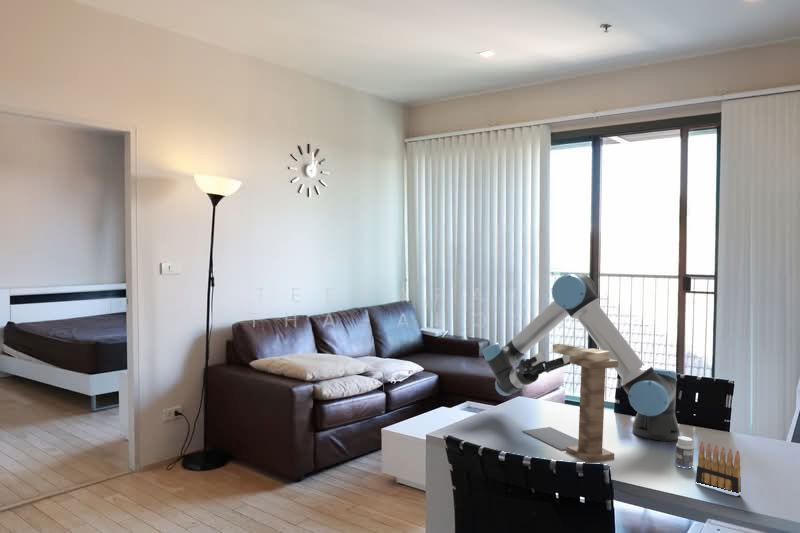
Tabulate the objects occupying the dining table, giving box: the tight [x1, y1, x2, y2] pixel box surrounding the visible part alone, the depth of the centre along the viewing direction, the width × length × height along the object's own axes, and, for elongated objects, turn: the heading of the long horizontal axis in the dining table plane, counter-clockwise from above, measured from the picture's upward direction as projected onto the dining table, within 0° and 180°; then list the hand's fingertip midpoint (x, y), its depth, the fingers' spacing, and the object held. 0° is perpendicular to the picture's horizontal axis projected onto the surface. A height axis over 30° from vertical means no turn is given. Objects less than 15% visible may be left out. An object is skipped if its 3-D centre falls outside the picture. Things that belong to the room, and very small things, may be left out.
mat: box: [521, 426, 579, 452], centre depth 191 cm, size 20×12×1 cm, turn 25°
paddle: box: [552, 343, 610, 362], centre depth 179 cm, size 17×7×2 cm, turn 41°
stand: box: [565, 356, 618, 463], centre depth 176 cm, size 10×10×30 cm
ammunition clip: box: [695, 441, 742, 493], centre depth 152 cm, size 11×2×12 cm, turn 41°
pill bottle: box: [674, 435, 695, 469], centre depth 169 cm, size 5×5×8 cm
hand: (559, 354), depth 189 cm, fingers open, 13 cm apart
